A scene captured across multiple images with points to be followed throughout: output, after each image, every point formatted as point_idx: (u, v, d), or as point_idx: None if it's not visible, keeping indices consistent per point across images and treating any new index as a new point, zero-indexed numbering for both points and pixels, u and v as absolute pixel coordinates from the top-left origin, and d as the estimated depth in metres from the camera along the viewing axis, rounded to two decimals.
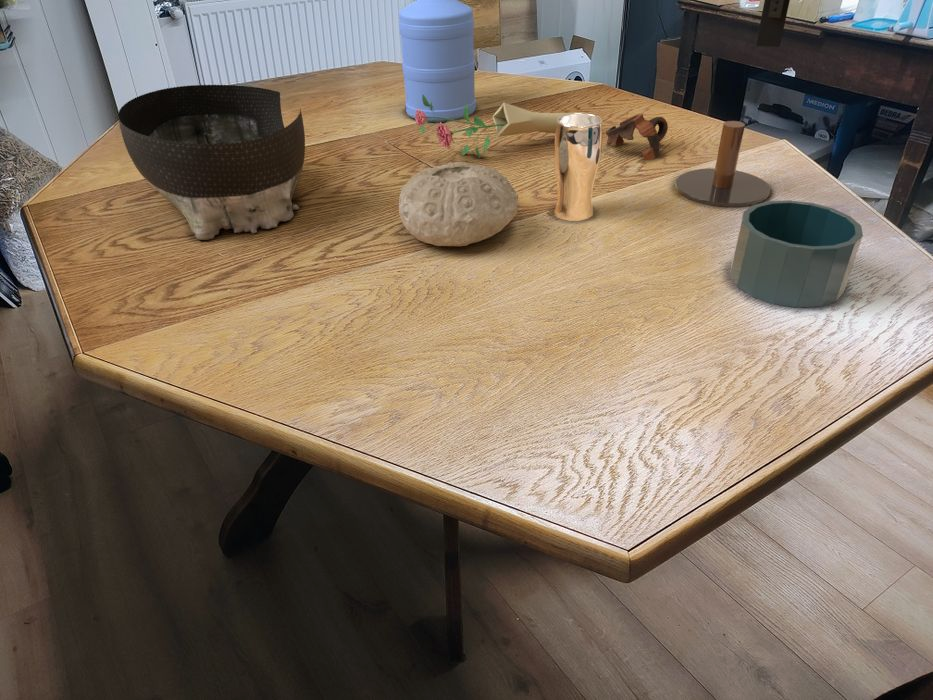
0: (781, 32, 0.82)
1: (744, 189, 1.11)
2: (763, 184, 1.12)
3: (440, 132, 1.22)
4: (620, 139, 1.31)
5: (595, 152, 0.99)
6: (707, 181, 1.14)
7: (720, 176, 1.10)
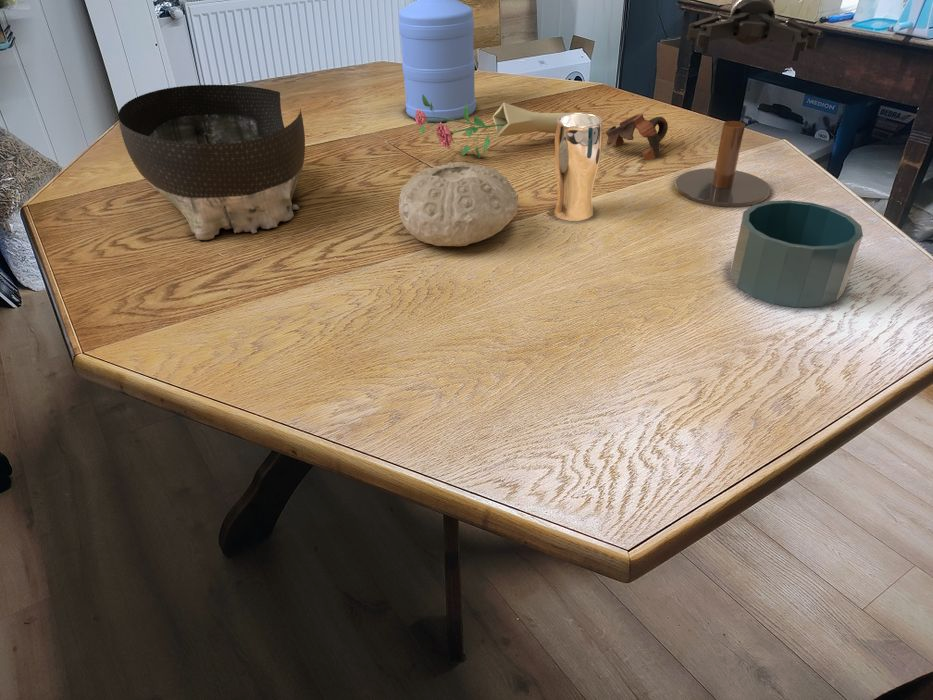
0: (705, 34, 1.10)
1: (744, 189, 1.11)
2: (763, 184, 1.12)
3: (440, 132, 1.22)
4: (620, 139, 1.31)
5: (595, 152, 0.99)
6: (707, 181, 1.14)
7: (720, 176, 1.10)
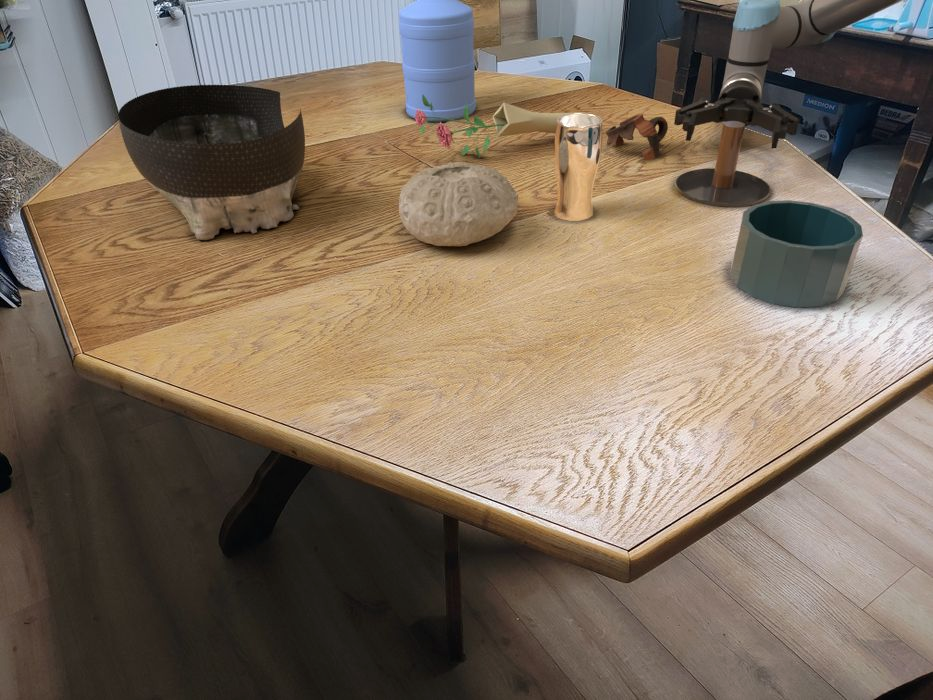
0: (689, 122, 1.16)
1: (744, 189, 1.11)
2: (763, 184, 1.12)
3: (440, 132, 1.22)
4: (620, 139, 1.31)
5: (595, 152, 0.99)
6: (707, 181, 1.14)
7: (720, 176, 1.10)
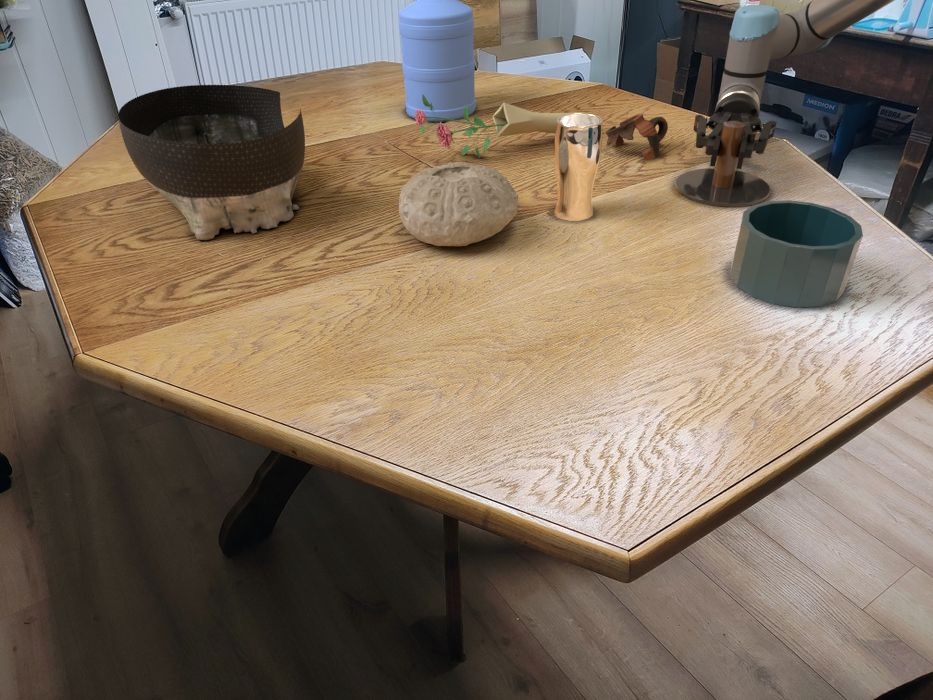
0: (713, 146, 1.06)
1: (744, 189, 1.11)
2: (763, 184, 1.12)
3: (440, 132, 1.22)
4: (620, 139, 1.31)
5: (595, 152, 0.99)
6: (707, 181, 1.14)
7: (720, 176, 1.10)
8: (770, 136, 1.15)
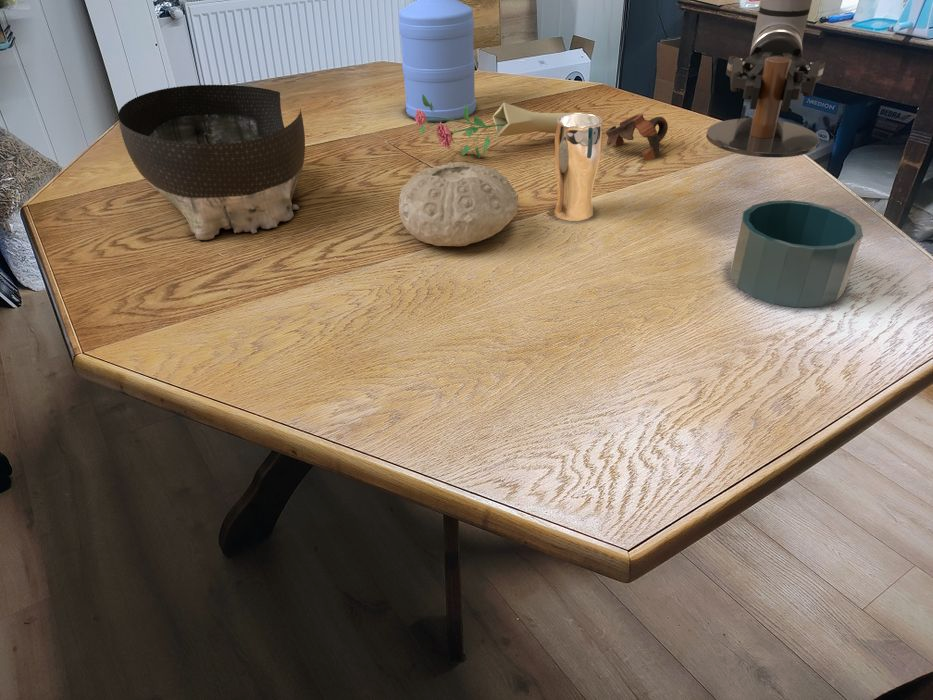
0: (754, 85, 0.89)
1: (789, 139, 0.94)
2: (810, 133, 0.95)
3: (440, 132, 1.22)
4: (620, 139, 1.31)
5: (595, 152, 0.99)
6: (744, 131, 0.97)
7: (760, 123, 0.94)
8: (817, 79, 0.98)
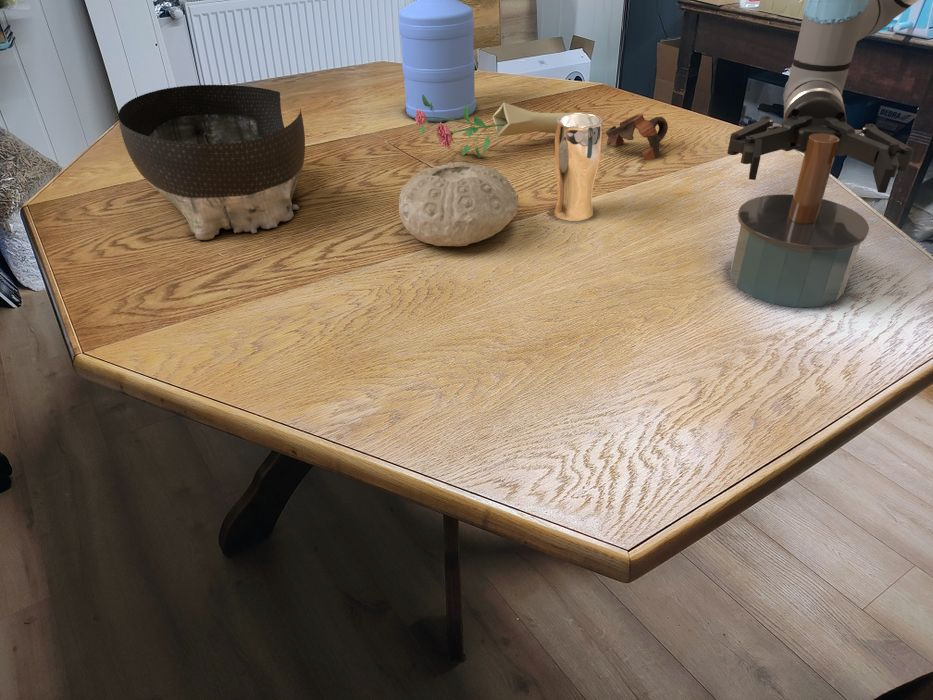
0: (753, 153, 0.80)
1: (834, 225, 0.82)
2: (857, 218, 0.83)
3: (440, 132, 1.22)
4: (620, 139, 1.31)
5: (595, 152, 0.99)
6: (781, 213, 0.85)
7: (801, 207, 0.82)
8: None
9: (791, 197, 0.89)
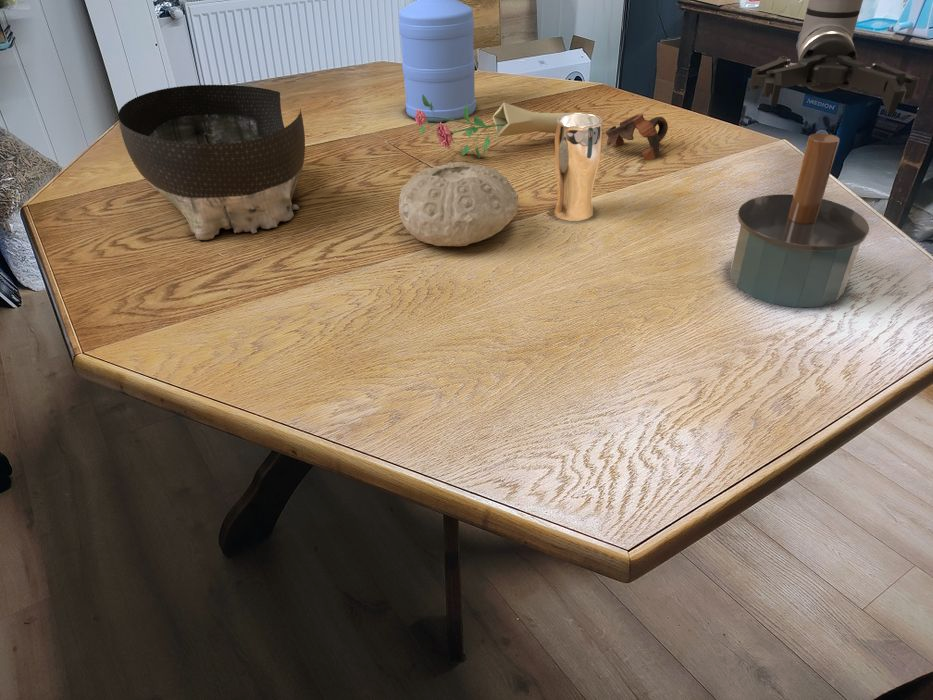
0: (775, 82, 0.89)
1: (834, 225, 0.82)
2: (857, 218, 0.83)
3: (440, 132, 1.22)
4: (620, 139, 1.31)
5: (595, 152, 0.99)
6: (781, 213, 0.85)
7: (801, 207, 0.82)
8: None
9: (791, 197, 0.89)
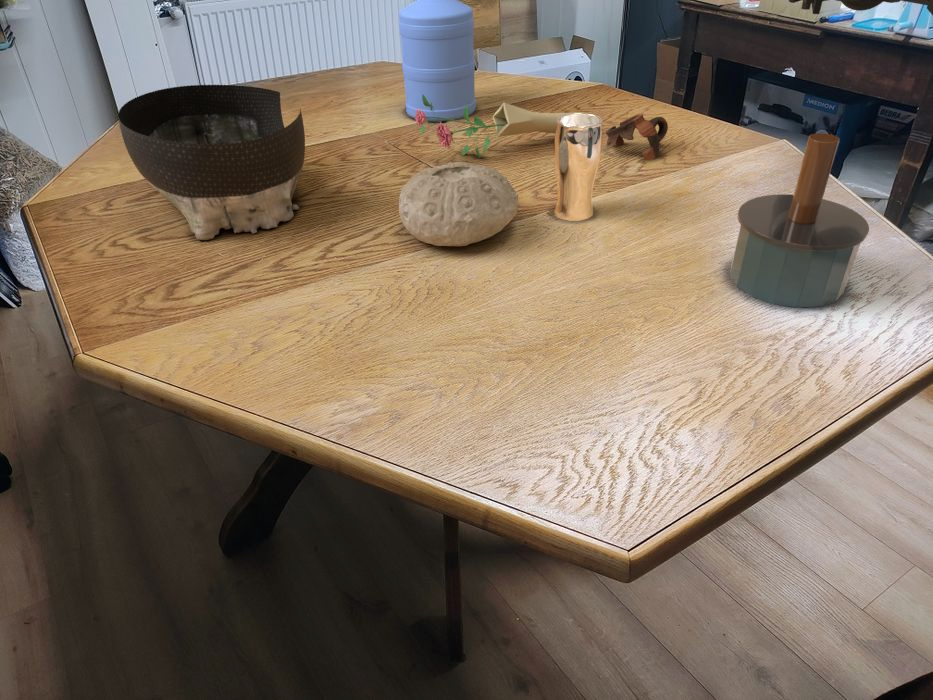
0: None
1: (834, 225, 0.82)
2: (857, 218, 0.83)
3: (440, 132, 1.22)
4: (620, 139, 1.31)
5: (595, 152, 0.99)
6: (781, 213, 0.85)
7: (801, 207, 0.82)
8: None
9: (791, 197, 0.89)
